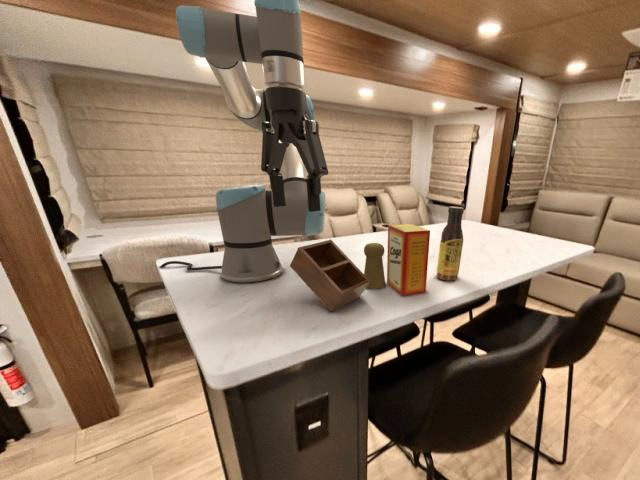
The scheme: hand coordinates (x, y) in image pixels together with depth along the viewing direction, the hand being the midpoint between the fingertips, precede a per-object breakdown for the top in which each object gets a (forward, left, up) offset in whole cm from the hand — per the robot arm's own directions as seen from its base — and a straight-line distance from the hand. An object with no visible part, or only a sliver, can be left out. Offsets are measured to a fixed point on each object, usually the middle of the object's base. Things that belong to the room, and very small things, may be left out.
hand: (296, 208), depth 68 cm
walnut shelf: (+8, 0, -16) cm, 17 cm away
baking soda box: (+19, +17, -20) cm, 33 cm away
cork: (+11, +14, -20) cm, 27 cm away
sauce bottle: (+25, +31, -20) cm, 45 cm away
